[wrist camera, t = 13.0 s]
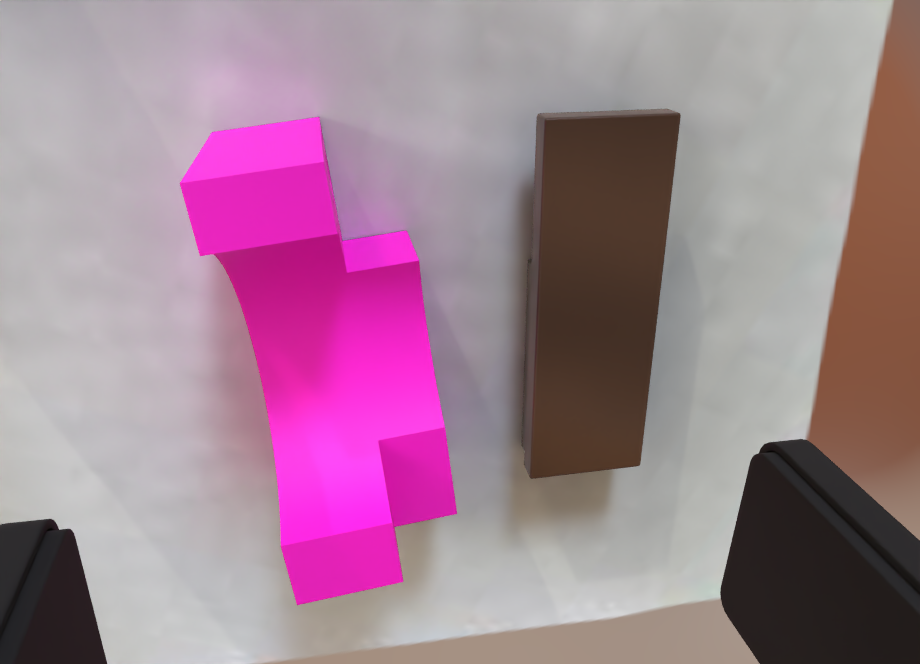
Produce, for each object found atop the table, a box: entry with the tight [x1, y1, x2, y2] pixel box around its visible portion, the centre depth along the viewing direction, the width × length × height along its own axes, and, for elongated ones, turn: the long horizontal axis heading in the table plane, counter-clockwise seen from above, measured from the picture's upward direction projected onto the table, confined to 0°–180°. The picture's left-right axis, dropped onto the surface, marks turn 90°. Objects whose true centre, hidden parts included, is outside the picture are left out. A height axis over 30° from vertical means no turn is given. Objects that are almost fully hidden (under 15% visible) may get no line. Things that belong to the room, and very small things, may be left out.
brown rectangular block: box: [522, 109, 680, 479], centre depth 30 cm, size 15×5×3 cm, turn 1°
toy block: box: [180, 117, 457, 605], centre depth 26 cm, size 15×6×8 cm, turn 7°
